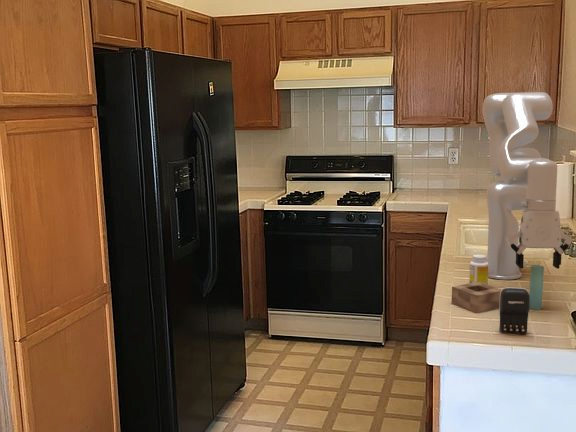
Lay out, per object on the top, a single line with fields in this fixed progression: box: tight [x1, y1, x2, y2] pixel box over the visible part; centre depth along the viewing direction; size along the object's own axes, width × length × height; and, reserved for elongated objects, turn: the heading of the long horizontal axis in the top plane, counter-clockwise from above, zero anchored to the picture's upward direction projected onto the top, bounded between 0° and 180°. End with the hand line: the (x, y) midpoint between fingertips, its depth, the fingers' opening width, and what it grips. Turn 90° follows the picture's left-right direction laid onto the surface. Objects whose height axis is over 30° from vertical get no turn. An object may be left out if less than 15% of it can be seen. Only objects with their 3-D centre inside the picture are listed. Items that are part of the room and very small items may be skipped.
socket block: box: [451, 282, 503, 314], centre depth 179 cm, size 10×10×5 cm
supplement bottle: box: [468, 254, 489, 285], centre depth 196 cm, size 6×6×10 cm
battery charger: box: [498, 286, 531, 335], centre depth 157 cm, size 7×4×11 cm, turn 78°
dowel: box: [528, 264, 545, 311], centre depth 176 cm, size 3×3×12 cm
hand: (538, 267), depth 174 cm, fingers open, 9 cm apart
